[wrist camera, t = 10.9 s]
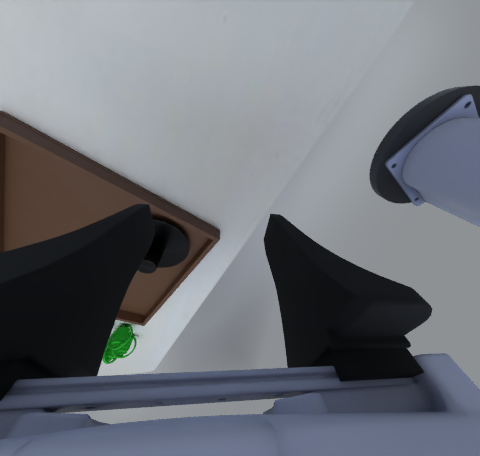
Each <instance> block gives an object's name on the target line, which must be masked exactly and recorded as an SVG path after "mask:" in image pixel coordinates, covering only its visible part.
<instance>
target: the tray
mask: <svg viewBox="0 0 480 456" xmlns="http://www.w3.org/2000/svg"><path fill="white" fill-rule="evenodd" d="M136 204H149V205H150V210H151V215H152V217H155V218H160V219H164V220H167V221H169V222H171V223H173V224H175V225H176V226H178V227H179V228H180V229H181V230H182V231H183V232H184V233H185V234H186V236H187V238H188V240H189V244H190V249H189V253H188V256H187V257H186V259H185V260H184V261H183V262H181V263H180V264H178V265H175V266H172V267H166V268H158V267H157V269H156V271H155V272H154V273H150V274H146V273H142V272H140V271H138V270H137V272H136V274H135V275H134V277H133V279H132V281H131V283H130V285H129V287H128V290H127V292H126V294H125V297H124V299H123V302H122V304H121V307H120V309H119V312H118V314H117V317H116V320H120V321H124V322H129V323H133V324H138V325H142V326H145V324H146V323H147V322H148V321H149V320H150V319H151V318H152V316H153V315H154V314H155V313H156V312H157V311H158V310H159V308H160V307H161V306H162V305H163V304H164V303H165V301H166V300H167V299H168V298H169V297H170V296H171V295H172V293H173V292H174V291H175V290H176V289H177V288H178V287H179V285H180V284H181V283H182V282H183V281H184V280H185V279H186V277H187V276H188V275H189V274H190V273H191V272H192V271H193V269H194V268H195V267H196V266H197V265H198V264H199V263H200V261H201V260H202V259H203V258H204V257H205V256H206V254H207V253H208V252H209V251H210V250H211V249H212V248H213V246H214V245H215V244H216V243H217V242H218V241H219V239H220V230H219V229H217V228H215V227H213V226H212V225H210V224H208V223H206V222H204V221H202V220H201V219H199V218H197V217H195V216H193V215H191V214H190V213H188V212H186V211H184V210H182V209H180V208H179V207H177V206H175V205H173V204H171V203H169V202H168V201H166V200H164V199H162V198H160V197H158V196H157V195H155V194H153V193H151V192H149V191H148V190H146V189H144V188H142V187H140V186H138V185H137V184H135V183H133V182H131V181H129V180H127V179H126V178H124V177H122V176H120V175H118V174H116V173H115V172H113V171H111V170H109V169H107V168H105V167H104V166H102V165H100V164H98V163H96V162H94V161H93V160H91V159H89V158H87V157H85V156H83V155H82V154H80V153H78V152H76V151H74V150H73V149H71V148H69V147H67V146H65V145H63V144H62V143H60V142H58V141H56V140H54V139H52V138H51V137H49V136H47V135H45V134H43V133H41V132H40V131H38V130H36V129H34V128H32V127H30V126H29V125H27V124H25V123H23V122H21V121H19V120H18V119H16V118H14V117H12V116H10V115H9V114H7V113H5V112H3V111H0V253H1V252H5V251H9V250H13V249H17V248H20V247H24V246H27V245H31V244H34V243H38V242H41V241H45V240H48V239H52V238H55V237H58V236H61V235H64V234H66V233H69V232H72V231H75V230H78V229H80V228H83V227H85V226H87V225H90V224H92V223H95V222H97V221H99V220H102V219H104V218H106V217H108V216H111V215H113V214H115V213H117V212H119V211H122V210H124V209H126V208H128V207H130V206H133V205H136Z"/></svg>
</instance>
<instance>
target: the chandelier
mask: <svg viewBox="0 0 480 456" xmlns="http://www.w3.org/2000/svg"><path fill="white" fill-rule="evenodd" d="M128 327H130V329H131V331H130V329H129V328H128ZM129 331H130V334H129ZM132 333H133V329H132V327H131V326H130V325H123V326H121V327H119V328H118V329H116V330H115V331H114V332H113V334H112V335H111V337H110V338H109V339H108V340H109V341H108V342H107V345H106V348H105V352H104V355H103V361H104V363H106V364H109V363H112V362H114V361H115V360H116V359H117V358H125V357H127V356H129V355H130V354H131V353H132V352H133V351H134V349H135V347H136V338H135V337H134V336H133V335H132ZM114 335H115V336H114ZM113 336H114V338H113ZM112 338H113V340H112ZM133 339H134V341H135V346H134V349H133V350H132V352H130V353H129V354H128V355H126V356H123V354H126V353H127V351H128V350H129V348H130V345H131V343H132V340H133ZM112 341H113V342H112ZM107 347H108V348H107ZM106 349H107V350H106ZM116 354H117V355H116ZM114 357H115V358H114ZM111 359H113V360H112V361H111V362H110V360H111Z"/></svg>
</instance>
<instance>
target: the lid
mask: <svg viewBox="0 0 480 456" xmlns="http://www.w3.org/2000/svg"><path fill="white" fill-rule="evenodd" d="M152 219H153V224H154V229H155V235H154V238H153V241H152V243H151V246H150V248H149V250H148V252H147V254H146V256H145V257H144V259H143V261H142V263H141V265H140V266H139V268H138V271H140V272H142V273H146V274H150V273H154V272H155V271H156V269H157V267H158V268H166V267H172V266H175V265H178V264H180V263H181V262H183V261H184V260H185V259H186V257H187V256H188V253H189V249H190V244H189V240H188V238H187V236H186V234H185V233H184V232H183V231H182V230H181V229H180V228H179V227H178V226H176V225H175V224H173V223H171V222H169V221H167V220H164V219H160V218H155V217H152Z"/></svg>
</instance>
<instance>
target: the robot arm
mask: <svg viewBox="0 0 480 456" xmlns="http://www.w3.org/2000/svg"><path fill="white" fill-rule="evenodd" d="M393 164H394V165H393ZM392 165H393V166H392ZM385 166H386V168H387V169H388V170H389V172H390V173H391V175H392V176H393V177H394V179H395V180H396V181H397V183H398V184H399V186H400V187H401V188H402V190H403V191H404V192H405V194H406V195H407V197H408V198H409V199H410V201H411V202H412V203H413V205H415V206H420V205H421V204H423V203H424V202H427V203H430V204H432V205H434V206H436V207H438V208H440V209H442V210H444V211H447V212H449V213H451V214H453V215H455V216H457V217H459V218H461V219H463V220H466V221H468V222H470V223H472V224H474V225H477V226H480V118H479V116H478V113H477V110H476V107H475V103H474V100H473V97H472V95H471V94H466V95H463V96H462V97H460V98H459V99H458V100H457V101H456V102H454V103H453V104H452V105H451V106H450V107H449V108H447V109H446V110H445V111H444V112H443V113H442V114H440V115H439V116H438V117H437V118H436V119H435V120H433V121H432V122H431V123H430V124H429V125H428V126H426V127H425V128H424V129H423V130H422V131H421V132H419V133H418V134H417V135H416V136H415V137H414V138H412V139H411V140H410V141H409V142H408V143H407V144H405V145H404V146H403V147H402V148H401V149H400V150H398V151H397V152H396V153H395V154H394V155H392V156H391V157H390V158H389V159H388V160H387V161H386V162H385ZM154 235H155V229H154V224H153V219H152V215H151V210H150V205H149V204H136V205H133V206H130V207H128V208H126V209H124V210H122V211H119V212H117V213H115V214H113V215H111V216H108V217H106V218H104V219H102V220H99V221H97V222H95V223H92V224H90V225H87V226H85V227H83V228H80V229H78V230H75V231H72V232H69V233H66V234H64V235H61V236H58V237H55V238H52V239H48V240H45V241H41V242H38V243H34V244H31V245H27V246H24V247H20V248H17V249H13V250H9V251H5V252H1V253H0V456H480V390H479V389H478V388H477V386H476V385H475V384H474V383H473V382H472V381H471V380H470V378H469V377H468V376H467V375H466V374H465V373H464V372H463V371H462V370H461V368H460V367H459V366H458V365H457V364H456V363H455V362H454V361H453V359H451V357H450V356H449V355H447V354H444V353H442V354H421V355H416V356H412V355H411V353H410V352H409V351H408V349H407V348H409V347H410V346H411V345H410V342H409V341H408V340H407V338H406V337H405V336H404V335H406V334H407V333H408V332H410V331H412V330H413V329H415V328H416V327H418V326H419V325H421V324H422V323H424V322H425V321H426V320H427V319H428V318H429V317H430V316H431V312H432V308H431V306H430V305H429V304H428V303H427V302H426V301H425V300H424V299H423V298H422V297H421V296H420V295H419V294H418V293H417V292H416V291H415V290H414V289H412V288H411V287H408V286H405V285H403V284H400V283H397V282H395V281H392V280H389V279H387V278H384V277H381V276H379V275H377V274H374V273H372V272H370V271H368V270H365V269H363V268H361V267H359V266H357V265H355V264H353V263H351V262H349V261H347V260H345V259H343V258H341V257H339V256H337V255H335V254H334V253H332V252H330V251H329V250H327V249H325V248H324V247H322V246H320V245H319V244H318V243H316V242H314V241H313V240H312V239H311V238H309V237H308V236H306V235H305V234H304V233H303V232H301V231H300V230H299V229H298V228H296V227H295V226H294V225H293V224H291V223H290V222H289V221H287V220H286V219H285V218H284V217H283V216H281V215H276V214H270V218H269V222H268V226H267V229H266V233H265V237H264V245H265V250H266V255H267V258H268V262H269V265H270V269H271V272H272V275H273V279H274V282H275V286H276V290H277V295H278V300H279V306H280V312H281V318H282V324H283V332H284V339H285V348H286V356H287V365H288V368H277V369H252V370H229V371H207V372H184V373H160V374H137V375H114V376H97V374H98V371H99V367H100V364H101V361H102V358H103V355H104V352H105V348H106V345H107V342H108V339H109V337H110V334H111V331H112V328H113V325H114V322H115V320H116V317H117V314H118V312H119V309H120V307H121V304H122V302H123V299H124V297H125V294H126V292H127V290H128V287H129V285H130V283H131V281H132V279H133V277H134V275H135V274H136V272H137V270H138V268H139V266H140V265H141V263H142V261H143V259H144V257H145V256H146V254H147V252H148V250H149V248H150V246H151V243H152V241H153V238H154ZM275 398H283V399H279V400H275V402H274V406H273V407H272V408H271V409H269V410H267V411H266V412H264V413H263V414H256V415H255V414H252V415H219V416H201V417H186V418H185V417H184V418H172V419H159V420H148V421H138V422H128V423H119V424H107V423H102V422H98V421H96V420H93V419H91V417H90V416H89V415H88V414H68V413H66V412H81V411H96V410H111V409H126V408H141V407H155V406H169V405H185V404H199V403H215V402H230V401H244V400H260V399H275Z"/></svg>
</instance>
